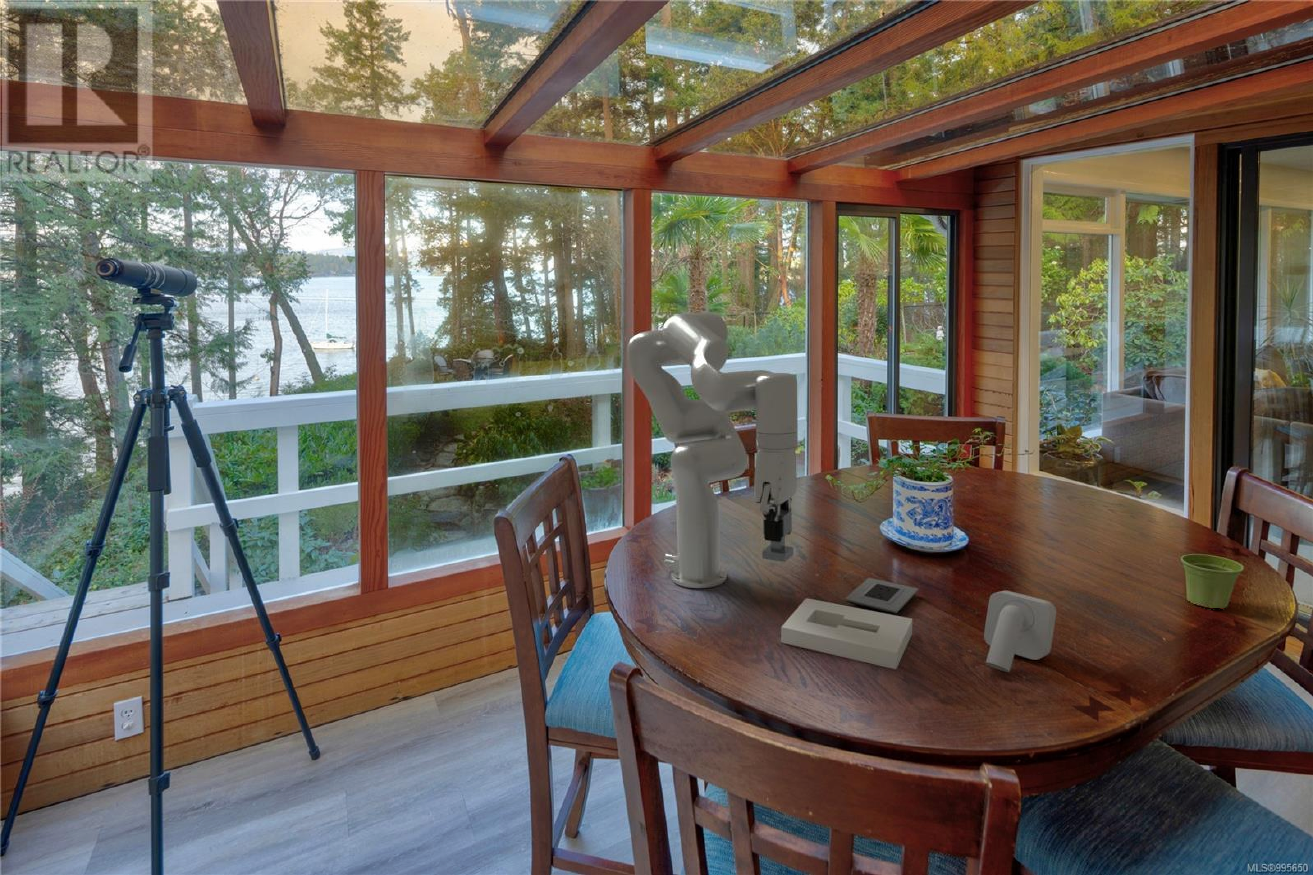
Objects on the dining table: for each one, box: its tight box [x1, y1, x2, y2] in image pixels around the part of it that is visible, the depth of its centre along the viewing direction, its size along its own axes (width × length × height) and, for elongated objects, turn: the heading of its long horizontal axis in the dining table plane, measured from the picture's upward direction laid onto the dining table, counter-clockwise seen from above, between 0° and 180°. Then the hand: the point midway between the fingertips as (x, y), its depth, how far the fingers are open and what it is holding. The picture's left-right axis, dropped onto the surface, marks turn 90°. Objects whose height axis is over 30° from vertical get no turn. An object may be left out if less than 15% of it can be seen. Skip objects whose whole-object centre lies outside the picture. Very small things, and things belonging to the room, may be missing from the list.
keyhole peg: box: [762, 507, 794, 563], centre depth 124 cm, size 4×4×9 cm
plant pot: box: [1180, 553, 1245, 608], centre depth 129 cm, size 9×9×9 cm
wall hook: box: [983, 590, 1057, 673], centre depth 111 cm, size 10×12×12 cm
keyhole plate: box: [780, 597, 913, 670], centre depth 121 cm, size 20×14×3 cm
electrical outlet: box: [844, 577, 920, 615], centre depth 136 cm, size 13×10×2 cm
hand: (777, 536), depth 124 cm, fingers closed on keyhole peg, 4 cm apart
